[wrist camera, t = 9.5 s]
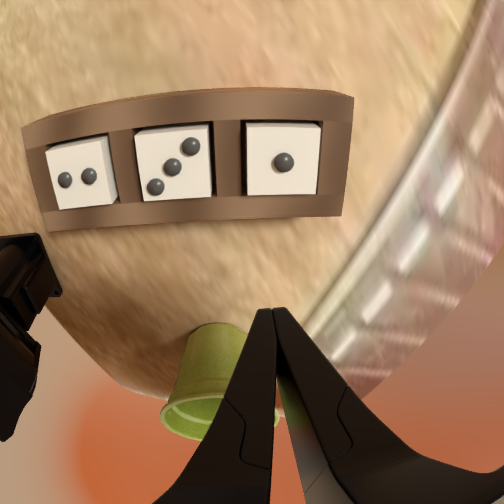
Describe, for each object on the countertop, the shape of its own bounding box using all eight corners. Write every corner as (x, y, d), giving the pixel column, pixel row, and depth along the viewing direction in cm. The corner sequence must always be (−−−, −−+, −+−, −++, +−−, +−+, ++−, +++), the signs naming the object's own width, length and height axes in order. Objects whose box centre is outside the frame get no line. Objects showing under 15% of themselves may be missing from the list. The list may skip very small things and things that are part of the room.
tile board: (68, 207, 19) (47, 231, 17) (49, 115, 15) (20, 127, 13) (325, 192, 20) (341, 216, 18) (333, 90, 16) (354, 97, 14)
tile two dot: (75, 192, 17) (58, 211, 15) (64, 140, 15) (43, 153, 13) (124, 186, 17) (110, 205, 15) (115, 130, 15) (98, 141, 13)
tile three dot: (153, 184, 17) (143, 203, 15) (146, 126, 15) (133, 136, 13) (212, 180, 18) (210, 198, 16) (209, 120, 16) (206, 129, 14)
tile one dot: (245, 178, 18) (248, 197, 16) (244, 119, 16) (247, 128, 14) (305, 177, 18) (316, 195, 16) (308, 119, 16) (321, 129, 14)
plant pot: (160, 310, 26) (144, 396, 19) (268, 304, 26) (282, 392, 19) (180, 370, 31) (175, 442, 24) (267, 366, 31) (276, 439, 24)
